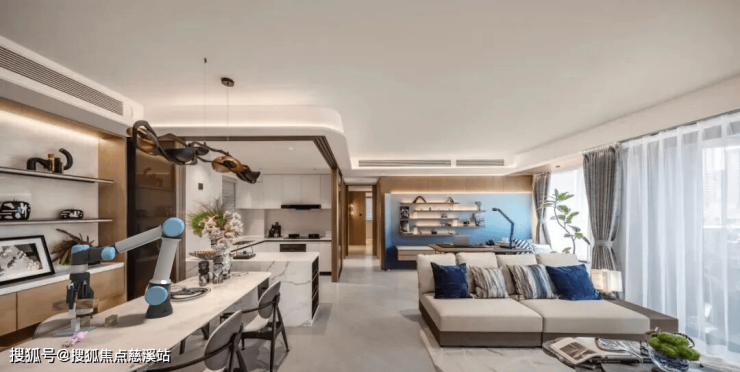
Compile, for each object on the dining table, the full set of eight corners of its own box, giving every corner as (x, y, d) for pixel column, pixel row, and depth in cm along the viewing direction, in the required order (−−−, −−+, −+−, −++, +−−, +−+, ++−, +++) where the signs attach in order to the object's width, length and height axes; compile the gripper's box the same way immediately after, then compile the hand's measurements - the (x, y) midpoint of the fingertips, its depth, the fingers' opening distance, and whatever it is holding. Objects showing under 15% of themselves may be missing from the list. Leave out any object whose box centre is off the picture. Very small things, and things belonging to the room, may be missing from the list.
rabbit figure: (74, 350, 157) (92, 334, 171) (73, 338, 156) (92, 323, 171) (59, 351, 155) (79, 335, 170) (58, 340, 155) (78, 324, 169)
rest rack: (117, 322, 193) (117, 314, 193) (110, 326, 186) (110, 317, 186) (84, 324, 189) (84, 316, 190) (75, 329, 183) (76, 320, 183)
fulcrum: (95, 328, 184) (96, 314, 184) (81, 335, 173) (82, 320, 173) (68, 330, 181) (69, 316, 182) (52, 337, 170) (53, 322, 171)
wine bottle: (82, 321, 195) (85, 273, 198) (71, 321, 197) (74, 273, 200) (96, 317, 204) (98, 270, 206) (86, 316, 205) (88, 270, 208)
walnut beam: (98, 306, 182) (99, 298, 183) (92, 308, 177) (93, 300, 178) (59, 308, 179) (59, 300, 179) (51, 310, 174) (52, 302, 174)
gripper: (82, 269, 188) (79, 309, 186) (58, 275, 170) (55, 319, 168) (96, 269, 189) (94, 308, 187) (74, 274, 172) (70, 318, 170)
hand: (75, 313), depth 178 cm, fingers closed on walnut beam, 5 cm apart
